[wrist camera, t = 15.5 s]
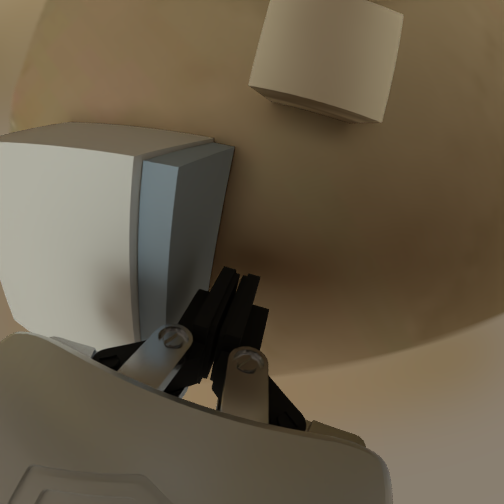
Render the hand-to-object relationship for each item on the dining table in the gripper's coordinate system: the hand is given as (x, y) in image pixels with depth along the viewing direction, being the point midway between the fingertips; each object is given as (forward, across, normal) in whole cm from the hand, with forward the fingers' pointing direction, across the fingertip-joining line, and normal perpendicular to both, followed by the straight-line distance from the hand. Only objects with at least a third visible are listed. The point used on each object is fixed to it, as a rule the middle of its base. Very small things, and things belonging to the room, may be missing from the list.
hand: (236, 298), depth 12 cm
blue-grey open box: (+4, +8, 0) cm, 9 cm away
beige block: (+4, -1, -11) cm, 11 cm away
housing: (+4, +9, 0) cm, 10 cm away
